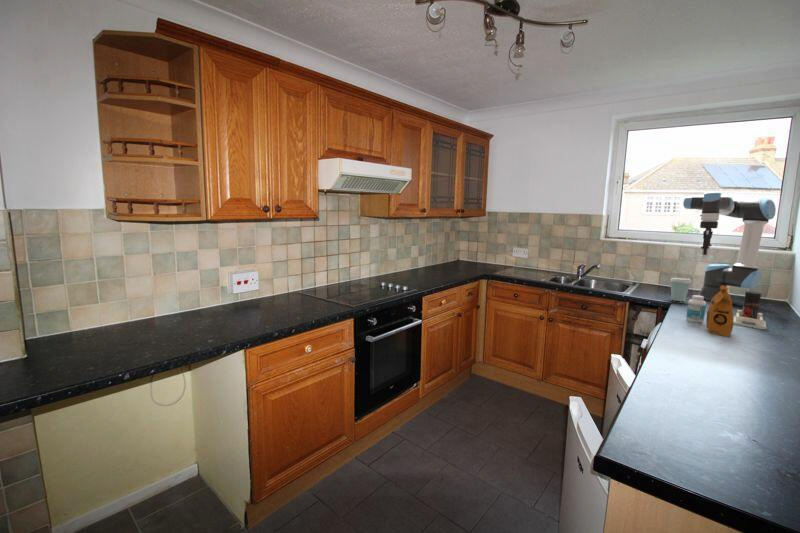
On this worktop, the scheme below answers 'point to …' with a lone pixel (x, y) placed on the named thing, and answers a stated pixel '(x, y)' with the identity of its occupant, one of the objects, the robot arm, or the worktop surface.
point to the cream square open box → (749, 321)
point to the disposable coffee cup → (679, 288)
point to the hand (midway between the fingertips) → (704, 259)
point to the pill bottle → (696, 309)
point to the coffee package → (720, 314)
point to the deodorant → (751, 304)
